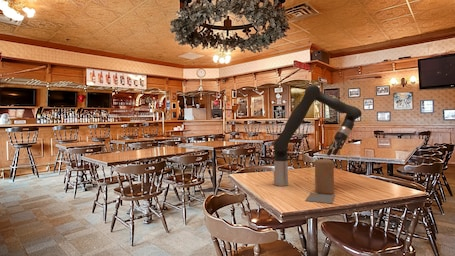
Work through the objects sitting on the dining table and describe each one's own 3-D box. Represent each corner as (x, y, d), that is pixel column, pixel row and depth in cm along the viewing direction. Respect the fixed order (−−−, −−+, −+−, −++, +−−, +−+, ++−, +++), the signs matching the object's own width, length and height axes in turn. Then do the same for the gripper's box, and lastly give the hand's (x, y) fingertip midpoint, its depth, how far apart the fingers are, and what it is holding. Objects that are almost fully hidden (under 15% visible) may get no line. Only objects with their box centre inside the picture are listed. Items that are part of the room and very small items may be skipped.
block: (334, 194, 161) (333, 161, 161) (317, 193, 163) (316, 161, 163) (331, 190, 171) (330, 159, 171) (315, 189, 173) (314, 159, 173)
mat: (305, 201, 149) (305, 200, 149) (310, 193, 164) (310, 192, 164) (332, 204, 143) (332, 203, 143) (335, 196, 158) (335, 195, 158)
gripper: (332, 132, 184) (321, 152, 182) (343, 129, 170) (331, 150, 168) (341, 138, 184) (330, 158, 181) (353, 136, 170) (341, 157, 167)
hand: (330, 154), depth 174 cm, fingers open, 8 cm apart
